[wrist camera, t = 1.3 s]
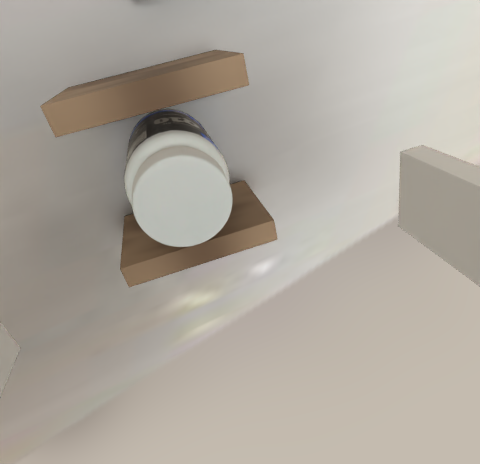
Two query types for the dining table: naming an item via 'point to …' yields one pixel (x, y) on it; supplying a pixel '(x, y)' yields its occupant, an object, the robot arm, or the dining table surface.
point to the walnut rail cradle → (150, 99)
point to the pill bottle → (176, 180)
